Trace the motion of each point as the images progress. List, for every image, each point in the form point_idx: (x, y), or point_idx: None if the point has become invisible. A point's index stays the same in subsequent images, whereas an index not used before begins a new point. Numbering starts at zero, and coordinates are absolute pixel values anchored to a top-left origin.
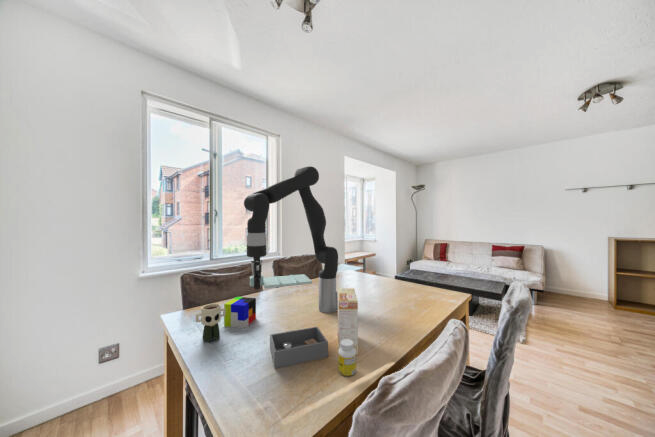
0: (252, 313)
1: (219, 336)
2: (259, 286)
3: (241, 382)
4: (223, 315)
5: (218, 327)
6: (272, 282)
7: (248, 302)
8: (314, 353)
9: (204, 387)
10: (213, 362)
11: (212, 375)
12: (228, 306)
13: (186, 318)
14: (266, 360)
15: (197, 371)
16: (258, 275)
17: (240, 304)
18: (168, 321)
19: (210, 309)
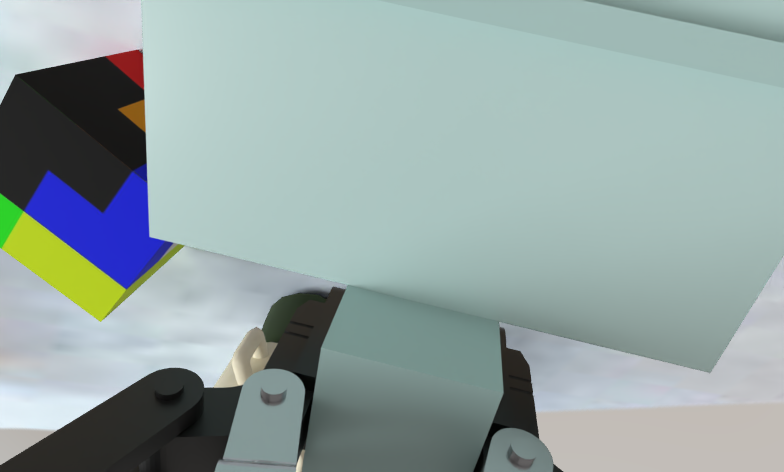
0: (144, 96)
1: (319, 296)
2: (502, 348)
3: (775, 296)
4: (265, 341)
5: None
6: (596, 190)
7: (119, 167)
8: None
9: (686, 399)
10: (534, 349)
11: (630, 368)
12: (126, 292)
13: (27, 369)
14: None
15: (559, 400)
16: (300, 407)
17: (147, 233)
18: (45, 426)
19: (300, 468)
